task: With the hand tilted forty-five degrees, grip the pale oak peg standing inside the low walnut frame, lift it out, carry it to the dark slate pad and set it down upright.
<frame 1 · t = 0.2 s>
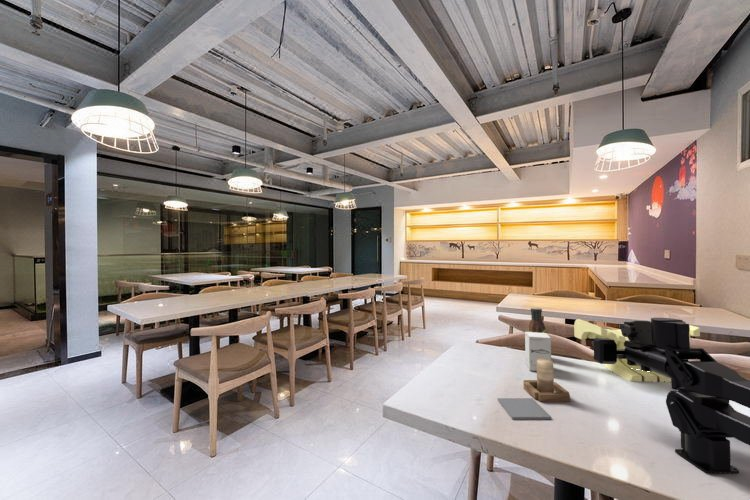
hand: (608, 343, 86), 17 cm above the table, tool horizontal, fingers open, 9 cm apart
slatted curved stool: (632, 372, 106), on the table
sauce bottle: (537, 357, 123), on the table
oak peg: (545, 377, 91), in the walnut frame
walnut frame: (545, 393, 91), on the table
slate pad: (522, 409, 83), on the table
supplement box: (538, 369, 111), on the table
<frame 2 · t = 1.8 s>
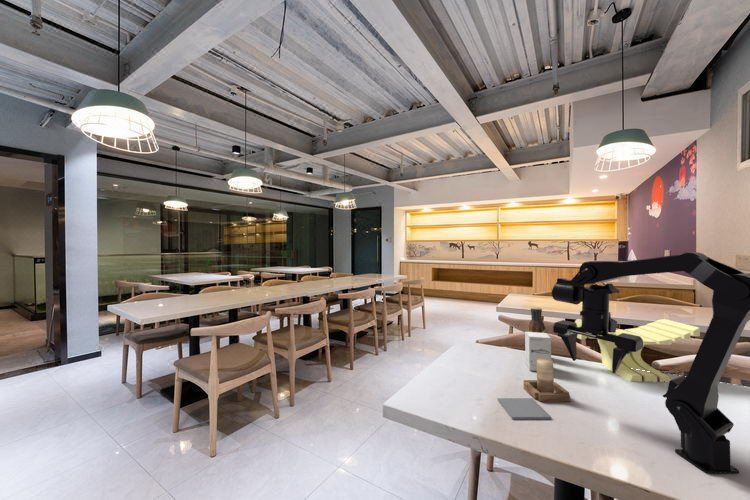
hand: (593, 366, 80), 13 cm above the table, tool pointing down, fingers open, 9 cm apart
nothing on the table moved.
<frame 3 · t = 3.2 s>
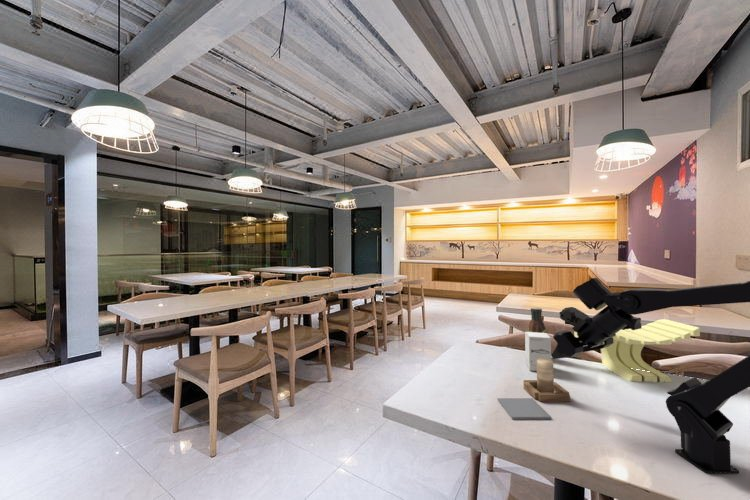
hand: (562, 354, 87), 13 cm above the table, tool tilted 45°, fingers open, 9 cm apart
nothing on the table moved.
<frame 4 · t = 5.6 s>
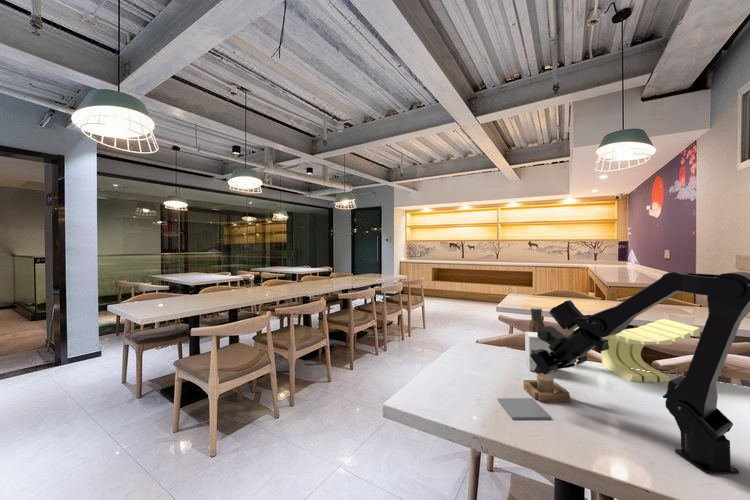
hand: (540, 370, 93), 7 cm above the table, tool tilted 45°, fingers closed on oak peg, 4 cm apart
oak peg: (545, 377, 91), in the walnut frame, touching gripper
everything else where it was.
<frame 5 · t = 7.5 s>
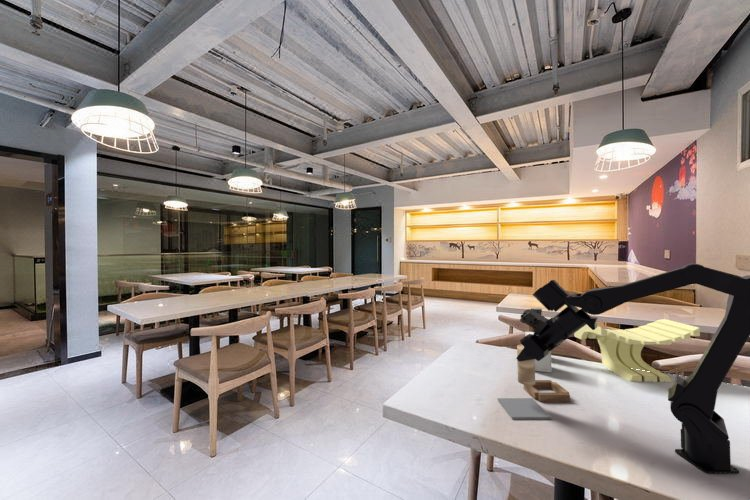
hand: (520, 357, 86), 13 cm above the table, tool tilted 45°, fingers closed on oak peg, 4 cm apart
oak peg: (526, 364, 85), point 11 cm above the table, touching gripper
everything else where it was.
when the fingers open (8 cm above the table, at t = 9.4 s): oak peg stays where it is, resting on slate pad.
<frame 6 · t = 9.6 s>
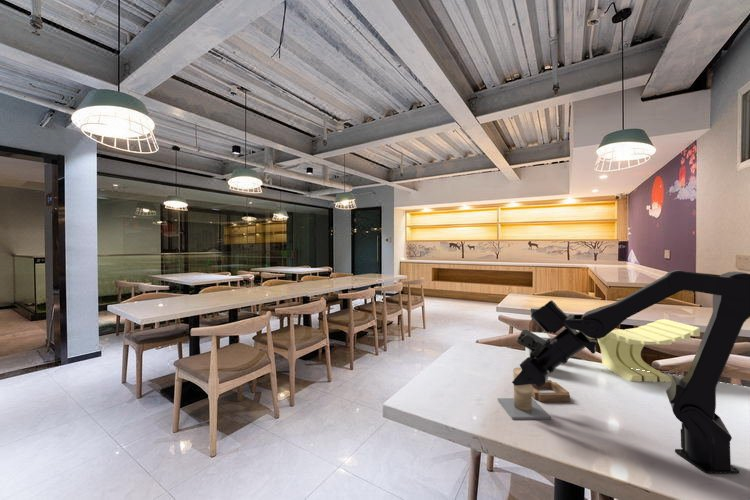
hand: (516, 379, 84), 8 cm above the table, tool tilted 45°, fingers open, 6 cm apart
oak peg: (522, 388, 83), on the slate pad, point 6 cm above the table
everything else where it was.
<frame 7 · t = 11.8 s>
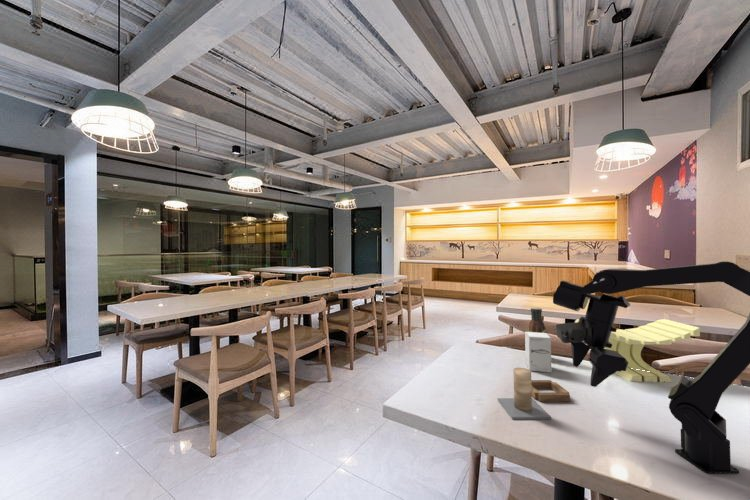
hand: (583, 375, 77), 11 cm above the table, tool pointing down, fingers open, 9 cm apart
nothing on the table moved.
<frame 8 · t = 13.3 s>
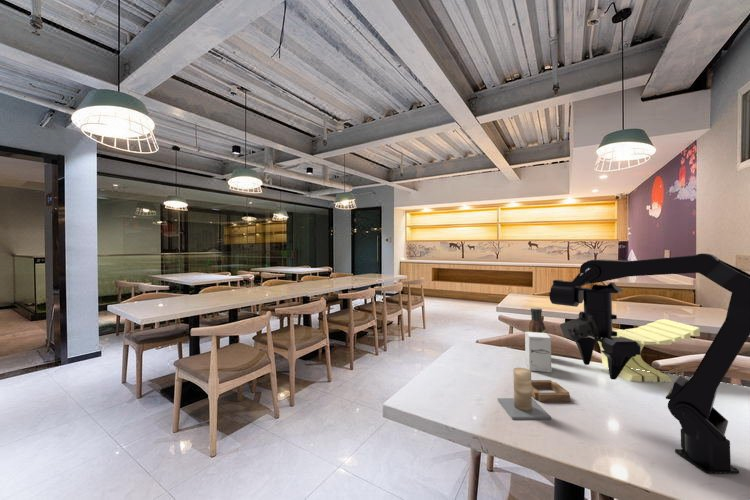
hand: (599, 371, 75), 13 cm above the table, tool pointing down, fingers open, 9 cm apart
nothing on the table moved.
at the end: oak peg 0.1 cm from the slate pad (horizontally); oak peg tilted 0°; the gripper is holding nothing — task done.
